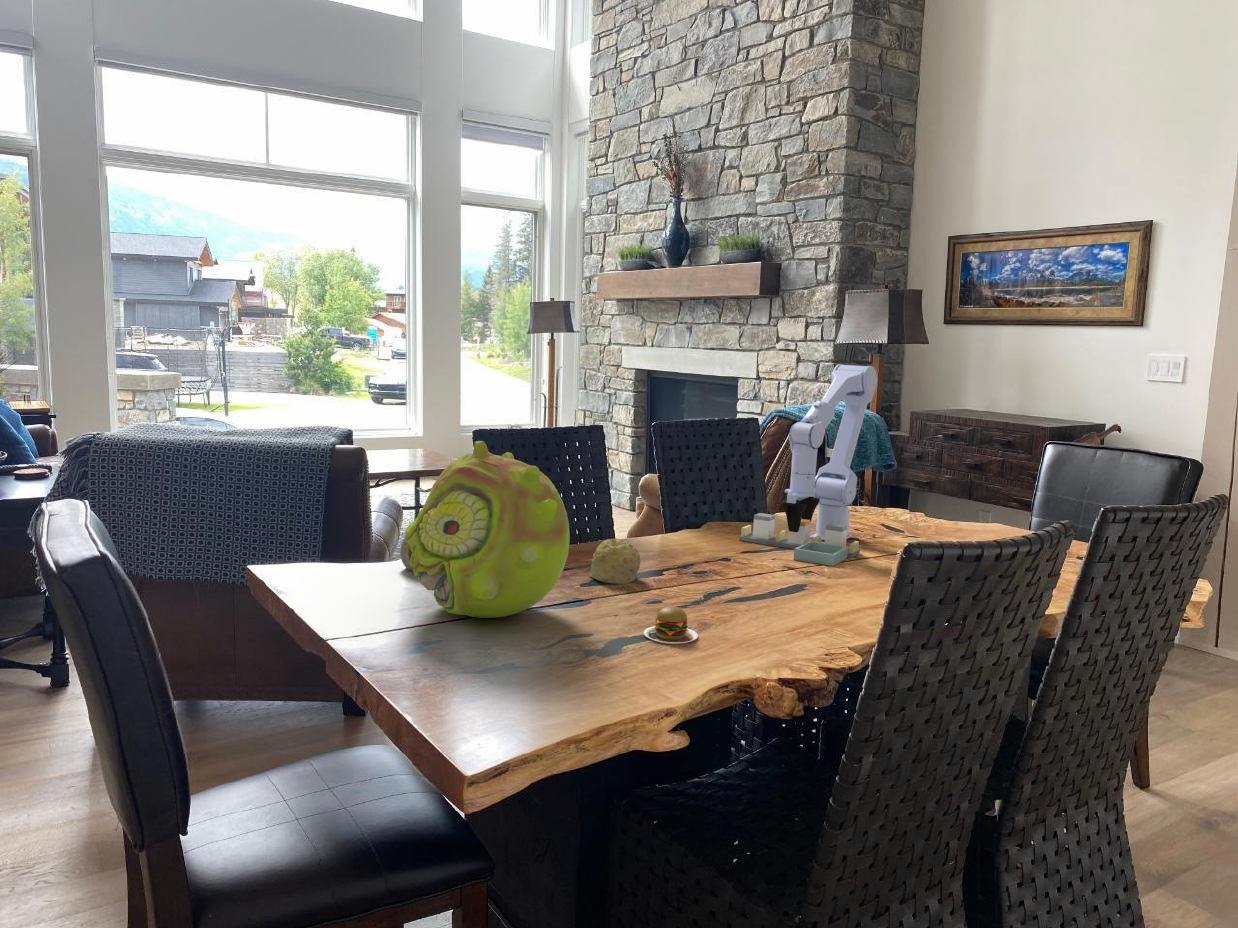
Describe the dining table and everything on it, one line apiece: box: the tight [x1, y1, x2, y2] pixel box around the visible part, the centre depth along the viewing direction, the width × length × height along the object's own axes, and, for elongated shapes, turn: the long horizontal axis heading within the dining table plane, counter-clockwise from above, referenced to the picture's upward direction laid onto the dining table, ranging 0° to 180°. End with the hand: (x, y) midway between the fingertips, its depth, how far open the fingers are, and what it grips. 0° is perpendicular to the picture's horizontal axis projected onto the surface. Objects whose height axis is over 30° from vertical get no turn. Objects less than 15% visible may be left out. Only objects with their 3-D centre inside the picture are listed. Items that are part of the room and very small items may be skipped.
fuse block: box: [738, 524, 861, 559], centre depth 227 cm, size 6×28×3 cm, turn 59°
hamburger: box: [643, 605, 699, 645], centre depth 155 cm, size 12×12×6 cm
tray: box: [793, 540, 849, 567], centre depth 216 cm, size 10×9×2 cm
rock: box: [589, 538, 641, 585], centre depth 191 cm, size 10×11×10 cm
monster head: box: [404, 440, 571, 619], centre depth 161 cm, size 31×28×30 cm
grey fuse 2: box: [824, 523, 847, 547], centre depth 223 cm, size 4×4×6 cm
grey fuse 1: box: [752, 512, 776, 540], centre depth 232 cm, size 4×4×6 cm
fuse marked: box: [787, 519, 812, 545], centre depth 227 cm, size 4×4×6 cm
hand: (799, 529), depth 227 cm, fingers open, 7 cm apart
